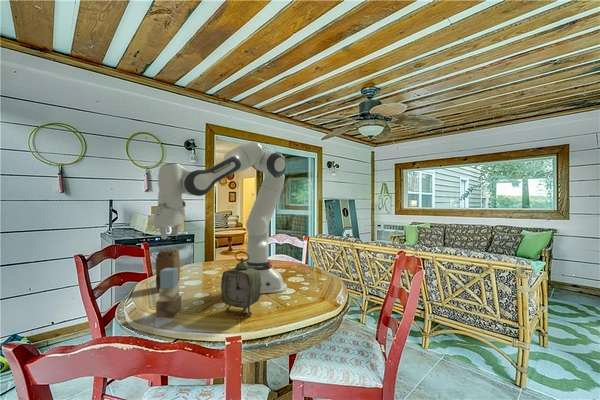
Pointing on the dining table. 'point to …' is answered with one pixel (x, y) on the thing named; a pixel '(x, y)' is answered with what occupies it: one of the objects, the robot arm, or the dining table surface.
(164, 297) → the maple top block
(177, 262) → the block
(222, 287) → the tabletop clock
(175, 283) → the slate block
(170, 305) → the walnut base block
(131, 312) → the dining table surface
